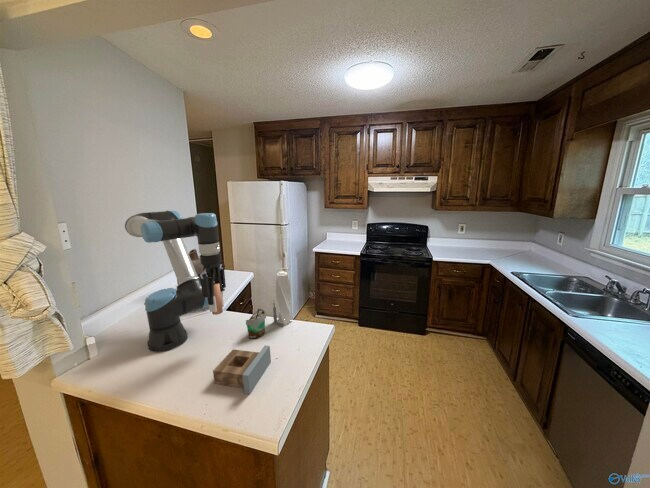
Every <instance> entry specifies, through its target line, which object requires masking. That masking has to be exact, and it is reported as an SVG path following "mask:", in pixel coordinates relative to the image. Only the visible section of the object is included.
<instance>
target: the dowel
mask: <svg viewBox="0 0 650 488" xmlns="http://www.w3.org/2000/svg"><path fill="white" fill-rule="evenodd" d="M214 296H215V299H216V307H217V312H211V314H212V315H214V316H215V315H216V316H217V315H220V314H222V313H223V312H224V310H223V307H222V300H221V292H220V284H219V283H214Z"/></svg>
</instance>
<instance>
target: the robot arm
mask: <svg viewBox="0 0 650 488" xmlns="http://www.w3.org/2000/svg"><path fill="white" fill-rule="evenodd" d="M217 220H218V219H217V215H216V213H213V212H202V213H197V214H195V215H194V216H189V217H185V218H183V216H182V215H181V214H180V212H178V211H176V210H165V211H162V210H161V211H150V212H139V213H136V214H133V215H131V216H130V217H128V218H127V219H126V220H125V223H124V229H125V231H126V232H127V234H128V235H129V236H132V237H136V238H142V239H143V240H144V242H145V243H149V244H150V243H160V242H162V243H163V246H164V248H165V250H166V253H167V256H168V259H169V261H170V264H171V267H172V269H173V272H174V274H175V278H176V281H177V280H178V283H179V284H177V286H176V289H175V288H173V287H167V288H162V289H159V290H157V291H154V292H152V293H151V294H149V295H148V296H147V297H145V300H144V306H145V312H146V316H147V323H148V327H149V333H148V340H147V341H146V342H147V350H148V351H150V352H153V353H162V352H163V353H164V352H167V351H171V350H173V349H176V348H178V347H179V346H182V345H183V344H184V343H185V342H186V341H187V339H188V333H187V332H188V331H187V330H186V329H185V327H184V325H183V324H182V322H181V317H182V316H184V315H187V314H190V313H193V312H195V311H199V310H202V309H203V310H204V308H205V307H207V306H209V308H210V310H209V312H211V313H212V312H217V307H216V299H215V296H214V283H219V284H220V292H221V300H222V308H223V307H224V306H225V304H224V293H223V292H225V291H226V287H227V286H226V275H225V274H226V273H225V269H226V268H225V267H226V265H225V264H221V262H222V253H221V246H220V237H219V229H218V228H219V226H218V221H217ZM192 237H196V238H197V245H198V254H199V257H200V261H201V264H202V265H203V272H202V273H201V274H198V276H199V277H198V276H197V273H196V271H195V268H194V266H193V263H192V261H191V258H190V256H189V252H188V249H187V246H186V244H185V241H184V239H185V238H192ZM211 277H212V278H211Z"/></svg>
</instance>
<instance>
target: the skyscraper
mask: <svg viewBox="0 0 650 488" xmlns="http://www.w3.org/2000/svg"><path fill="white" fill-rule="evenodd" d="M283 269H287V271H283ZM289 270H290V267H287V266H286V267H281V268H278V270H277V271H276V276H275V277H276V279H275V298H276V300H275V301H276V302H275V301H273V303H272V304H273V306H272V308H273V309H272V311H273V312H272V313H273V315H272V316H273V317H272V318H273V322H272V323H273V324H275V325H277V326H280V327H281V326H282V327H284V326H285V327H286V326H287V325H289V324H291V323H292V322H293V321H290V320H293V318H292V315H291V312H290V307H291V300H292V288H291V287H292V286H291V281H290V279H289V276H288V273H289ZM276 304H277V307H276ZM277 308H278V311H279V312H278V315H277ZM284 319H285V320H284Z"/></svg>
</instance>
